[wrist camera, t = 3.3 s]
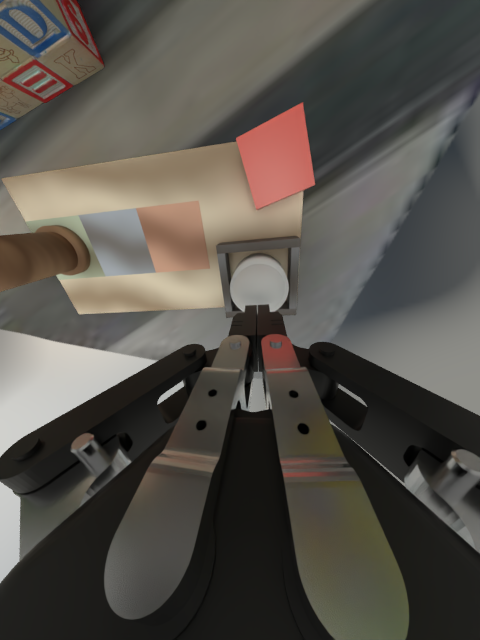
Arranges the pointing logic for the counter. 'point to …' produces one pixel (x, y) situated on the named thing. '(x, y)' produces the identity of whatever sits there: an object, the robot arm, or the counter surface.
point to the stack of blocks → (42, 53)
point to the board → (162, 229)
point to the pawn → (41, 256)
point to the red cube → (277, 158)
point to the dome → (259, 282)
